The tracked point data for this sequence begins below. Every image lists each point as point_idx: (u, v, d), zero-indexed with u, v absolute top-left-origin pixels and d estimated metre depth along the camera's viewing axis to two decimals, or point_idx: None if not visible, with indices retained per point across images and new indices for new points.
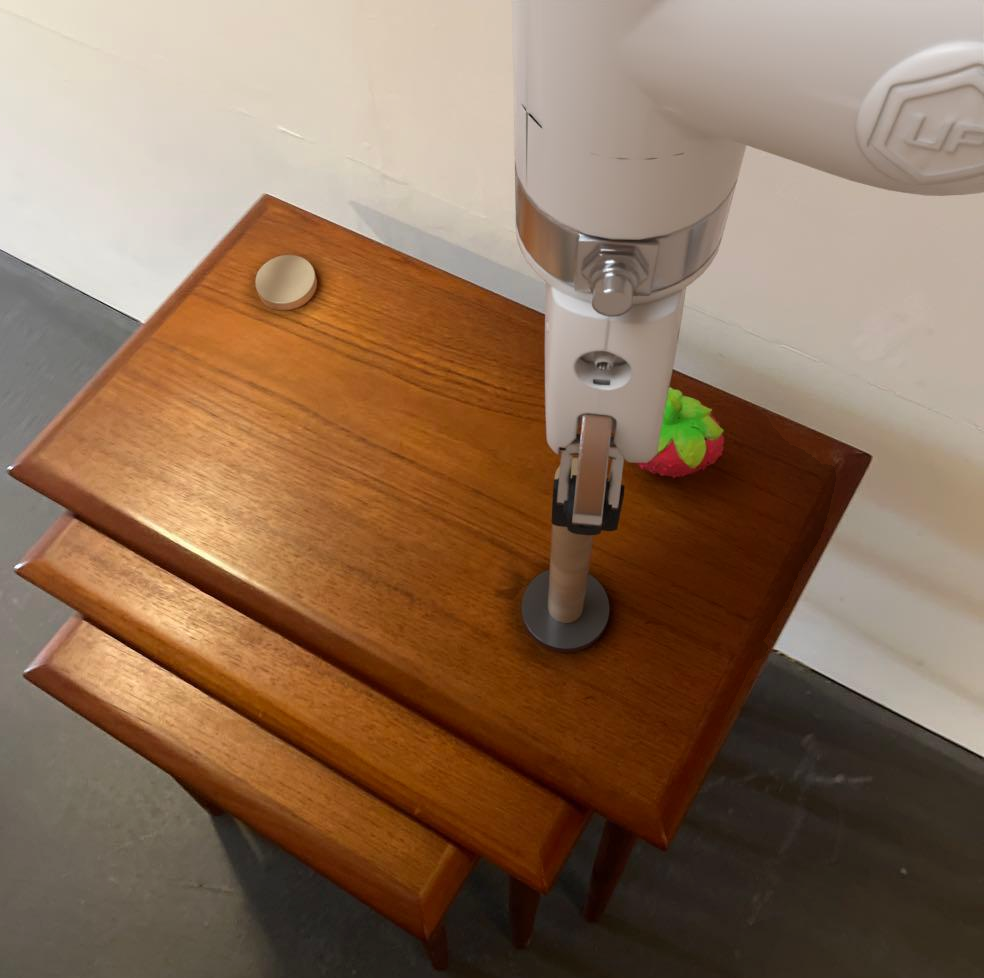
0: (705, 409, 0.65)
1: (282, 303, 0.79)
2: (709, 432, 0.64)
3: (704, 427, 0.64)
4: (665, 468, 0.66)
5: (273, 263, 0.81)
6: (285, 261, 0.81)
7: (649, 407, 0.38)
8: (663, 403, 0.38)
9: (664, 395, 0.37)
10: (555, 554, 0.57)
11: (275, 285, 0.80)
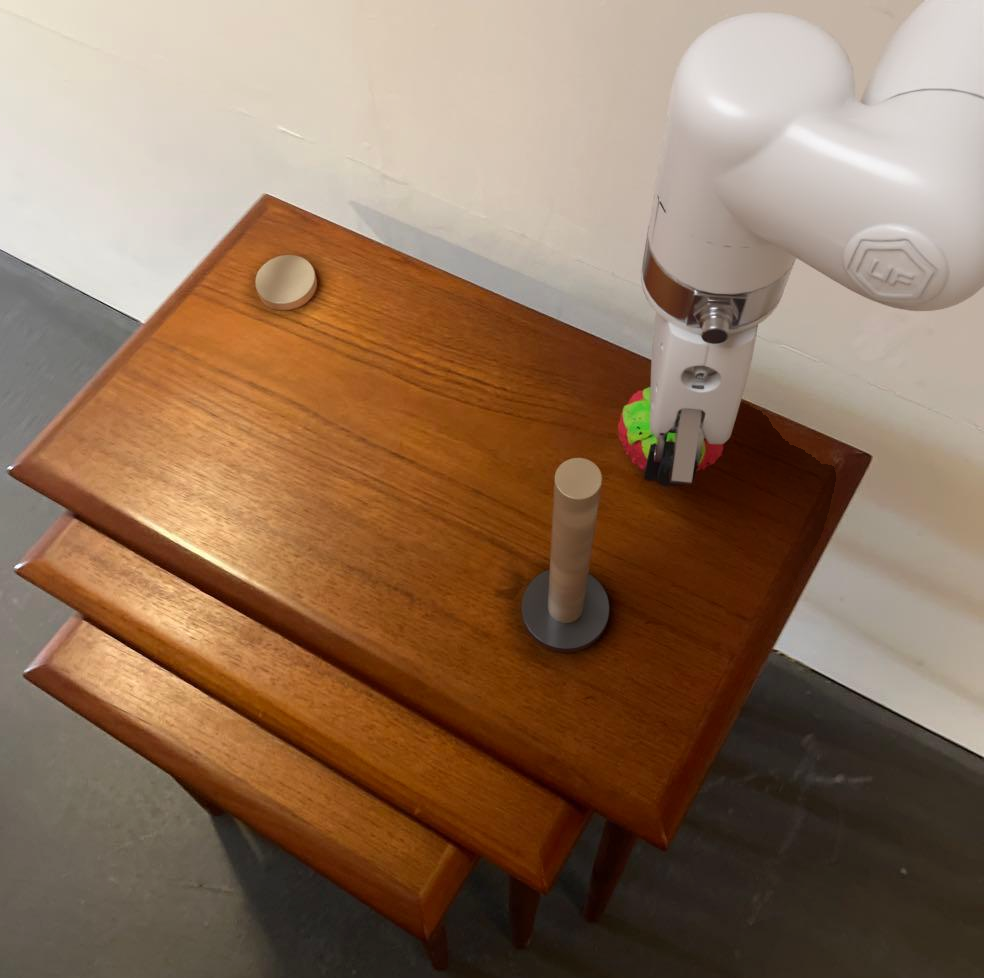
0: None
1: (282, 303, 0.79)
2: None
3: None
4: None
5: (273, 263, 0.81)
6: (285, 261, 0.81)
7: (730, 404, 0.54)
8: (739, 401, 0.54)
9: (741, 396, 0.54)
10: (555, 554, 0.57)
11: (275, 285, 0.80)
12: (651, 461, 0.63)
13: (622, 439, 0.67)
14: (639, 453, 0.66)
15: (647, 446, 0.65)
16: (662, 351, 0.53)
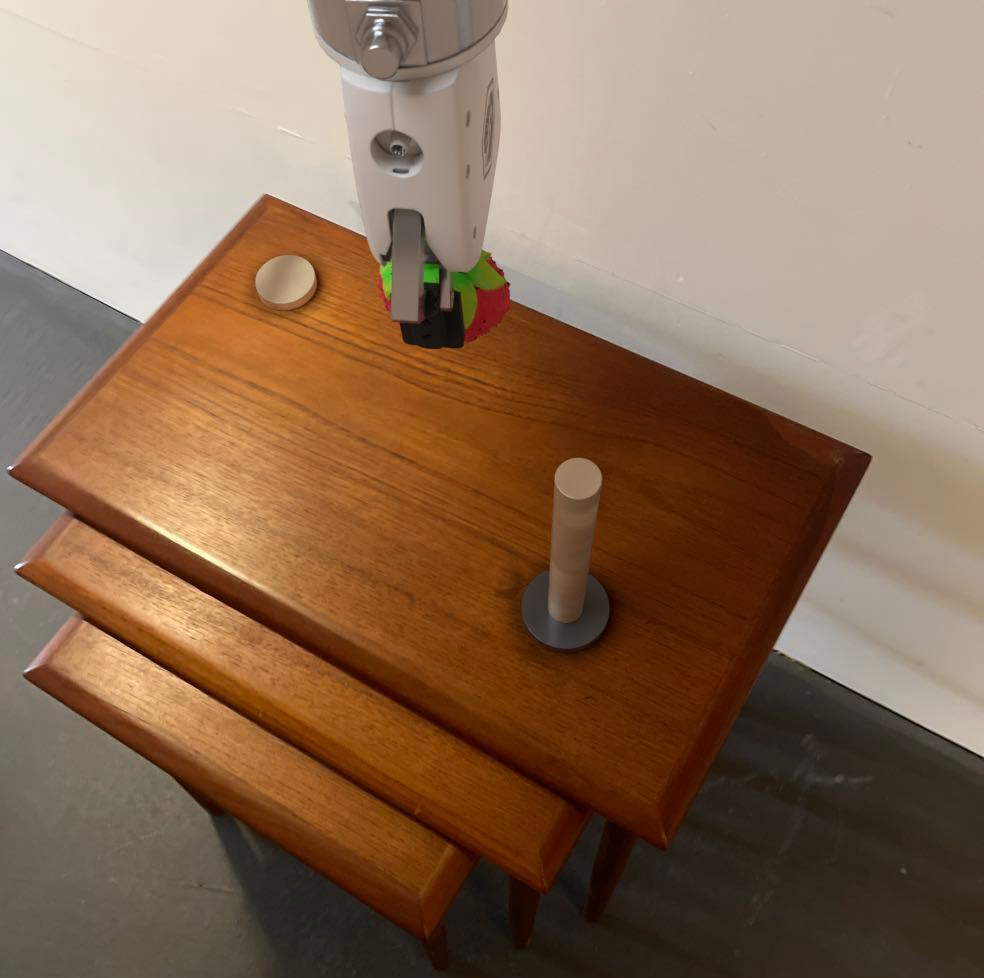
0: None
1: (282, 303, 0.79)
2: (481, 279, 0.49)
3: (474, 272, 0.49)
4: None
5: (273, 263, 0.81)
6: (285, 261, 0.81)
7: (450, 198, 0.39)
8: (464, 195, 0.39)
9: (462, 185, 0.39)
10: (555, 554, 0.57)
11: (275, 285, 0.80)
12: None
13: (382, 295, 0.52)
14: None
15: None
16: (345, 117, 0.38)
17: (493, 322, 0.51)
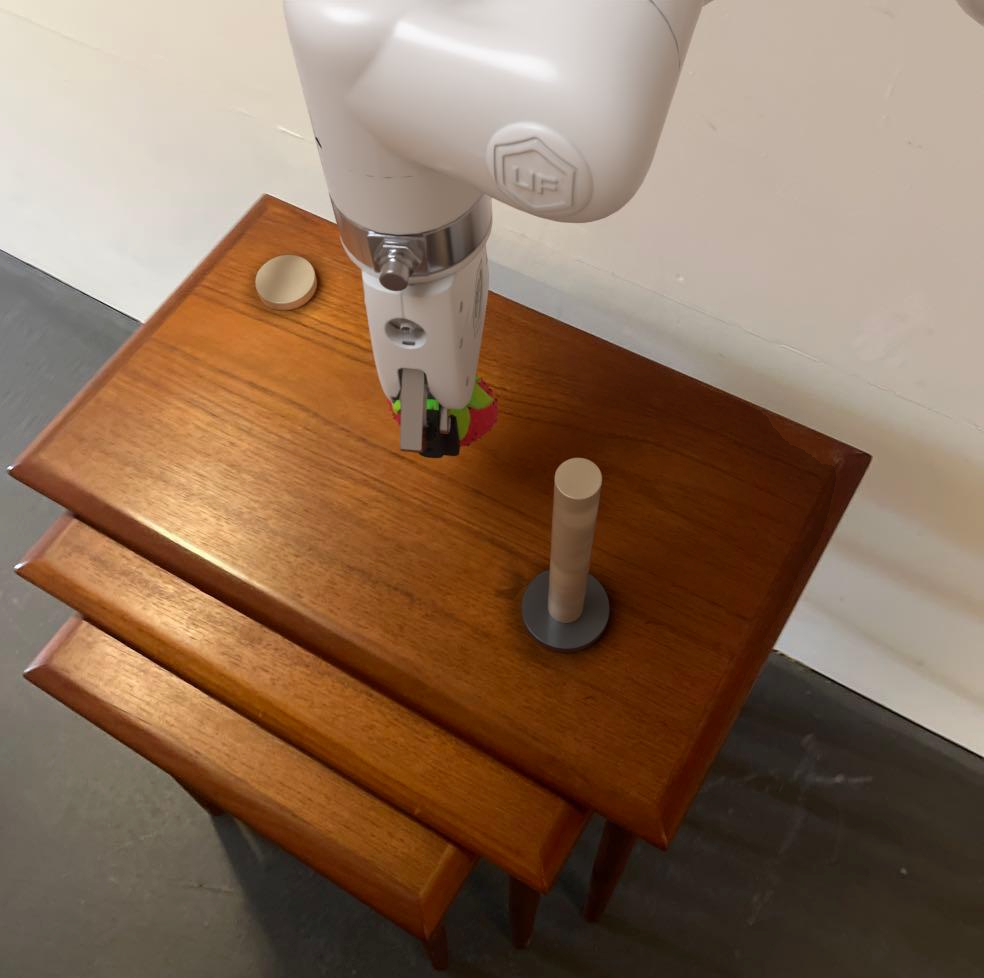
0: None
1: (282, 303, 0.79)
2: (473, 401, 0.60)
3: None
4: None
5: (273, 263, 0.81)
6: (285, 261, 0.81)
7: (447, 362, 0.49)
8: (458, 359, 0.49)
9: (457, 353, 0.49)
10: (555, 554, 0.57)
11: (275, 285, 0.80)
12: None
13: (390, 409, 0.62)
14: None
15: None
16: (365, 303, 0.48)
17: (483, 433, 0.61)
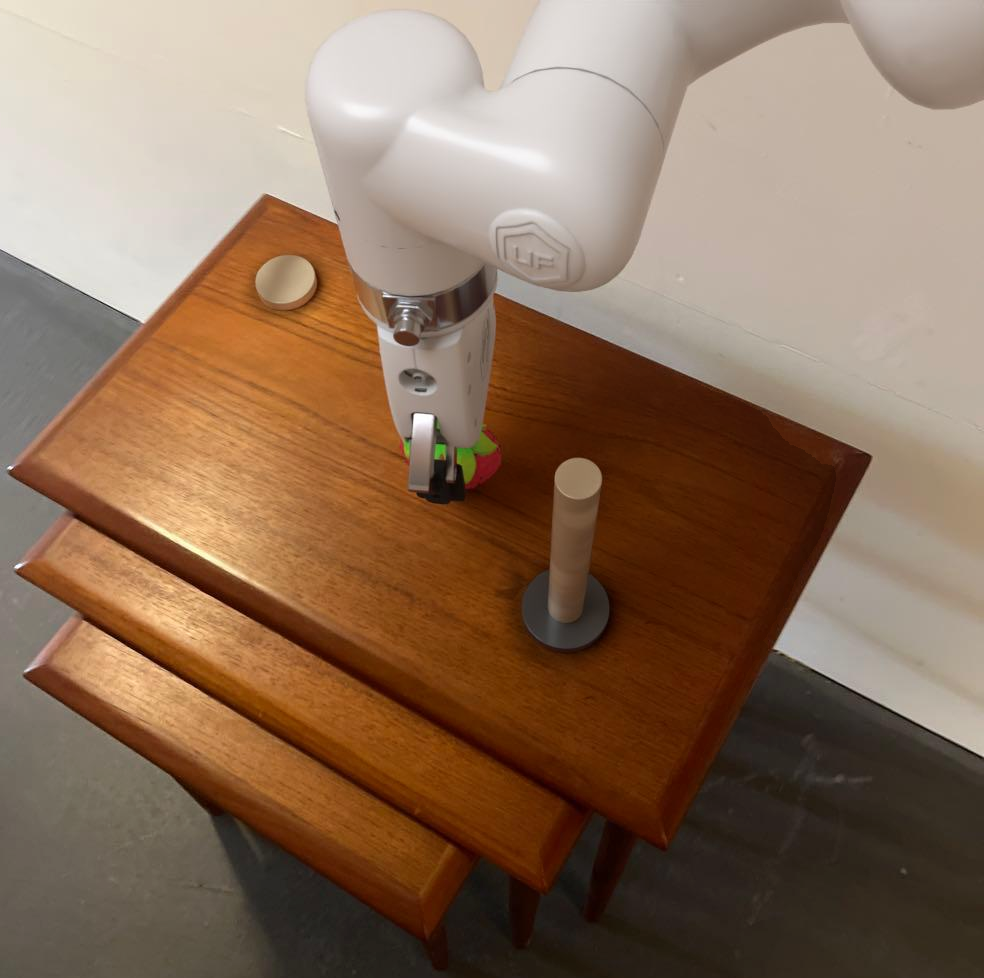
0: None
1: (282, 303, 0.79)
2: (478, 448, 0.65)
3: None
4: None
5: (273, 263, 0.81)
6: (285, 261, 0.81)
7: (457, 407, 0.53)
8: (467, 404, 0.53)
9: (466, 399, 0.53)
10: (555, 554, 0.57)
11: (275, 285, 0.80)
12: None
13: (402, 453, 0.68)
14: None
15: None
16: (380, 354, 0.52)
17: (488, 477, 0.67)
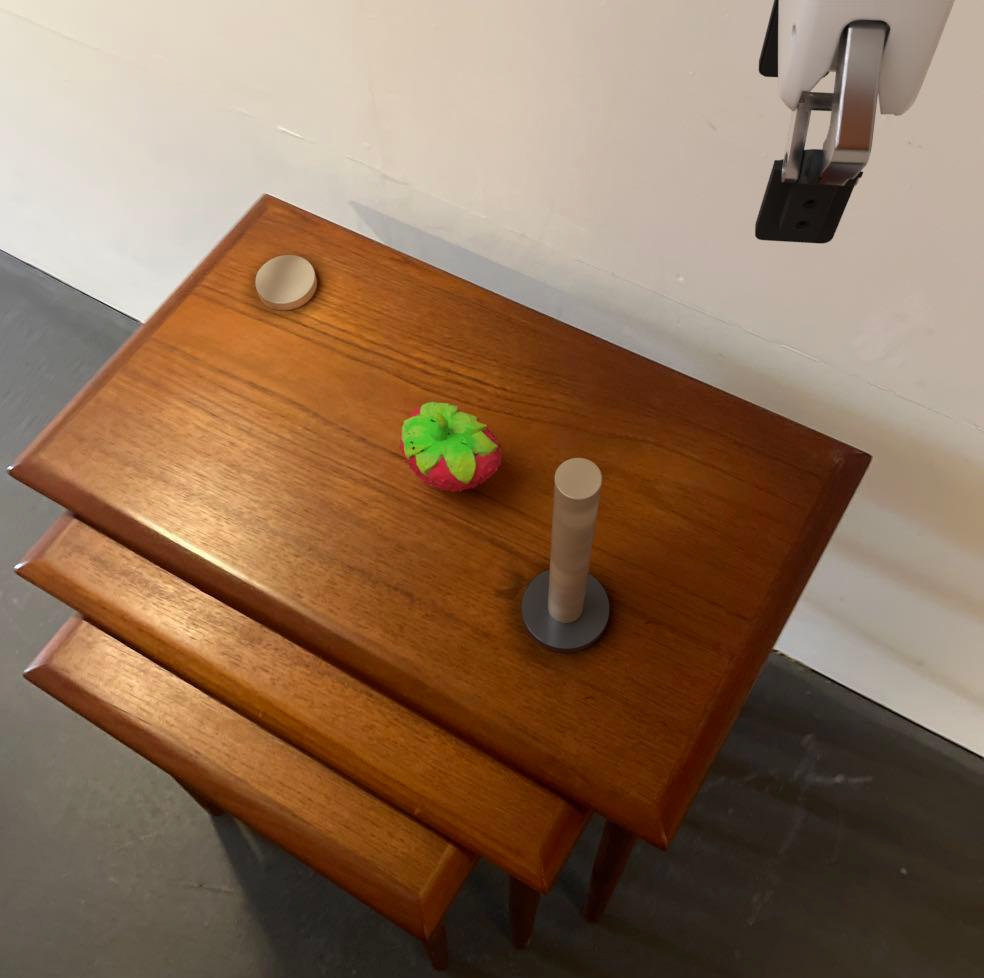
0: (477, 425, 0.66)
1: (282, 303, 0.79)
2: (478, 448, 0.65)
3: (473, 443, 0.65)
4: (440, 483, 0.66)
5: (273, 263, 0.81)
6: (285, 261, 0.81)
7: (938, 2, 0.31)
8: None
9: None
10: (555, 554, 0.57)
11: (275, 285, 0.80)
12: (772, 194, 0.39)
13: (402, 453, 0.68)
14: (417, 467, 0.67)
15: (420, 460, 0.66)
16: None
17: (488, 477, 0.67)
